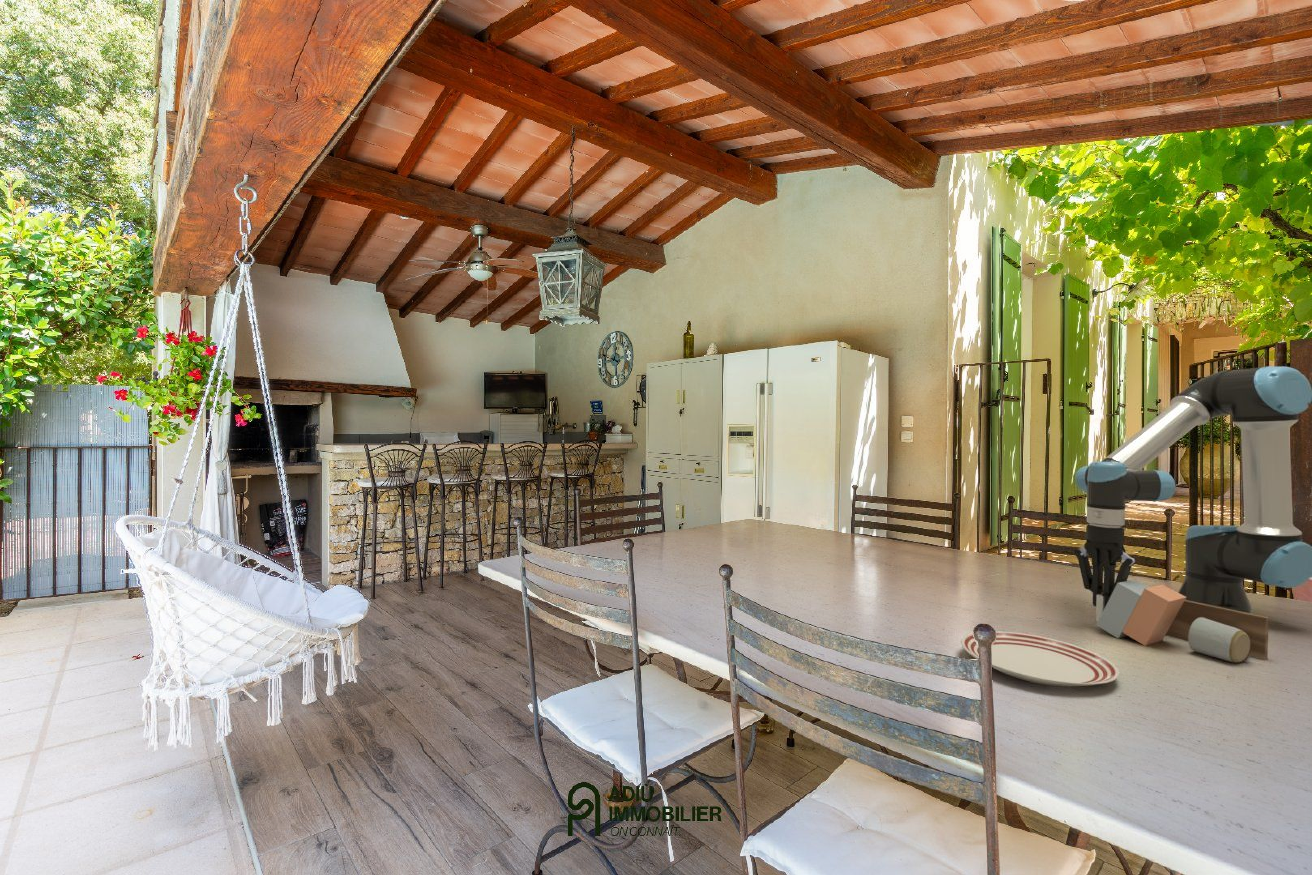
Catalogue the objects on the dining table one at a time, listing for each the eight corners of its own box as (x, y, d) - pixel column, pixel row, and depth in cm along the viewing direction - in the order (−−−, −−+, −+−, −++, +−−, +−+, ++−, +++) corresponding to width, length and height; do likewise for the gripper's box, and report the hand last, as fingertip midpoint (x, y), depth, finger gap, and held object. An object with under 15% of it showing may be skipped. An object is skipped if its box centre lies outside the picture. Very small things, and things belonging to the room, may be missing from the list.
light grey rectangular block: (1113, 620, 151) (1135, 578, 147) (1135, 633, 147) (1158, 591, 143) (1096, 625, 147) (1117, 582, 143) (1118, 638, 143) (1140, 595, 139)
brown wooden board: (1101, 617, 160) (1102, 582, 160) (1267, 658, 131) (1268, 617, 131) (1098, 617, 159) (1099, 583, 159) (1264, 659, 131) (1265, 618, 131)
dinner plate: (1092, 654, 134) (1092, 639, 134) (1143, 708, 108) (1143, 689, 108) (953, 638, 143) (954, 624, 143) (970, 684, 118) (970, 667, 118)
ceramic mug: (1233, 666, 127) (1234, 630, 127) (1186, 653, 134) (1187, 618, 134) (1260, 660, 131) (1261, 624, 131) (1213, 647, 139) (1214, 613, 139)
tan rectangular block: (1139, 626, 147) (1161, 584, 143) (1162, 640, 143) (1186, 597, 138) (1121, 631, 143) (1144, 588, 139) (1145, 645, 139) (1169, 601, 135)
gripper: (1068, 522, 153) (1065, 615, 154) (1127, 530, 142) (1124, 631, 142) (1085, 520, 157) (1082, 611, 157) (1144, 528, 145) (1140, 626, 146)
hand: (1102, 621), depth 150 cm, fingers closed
